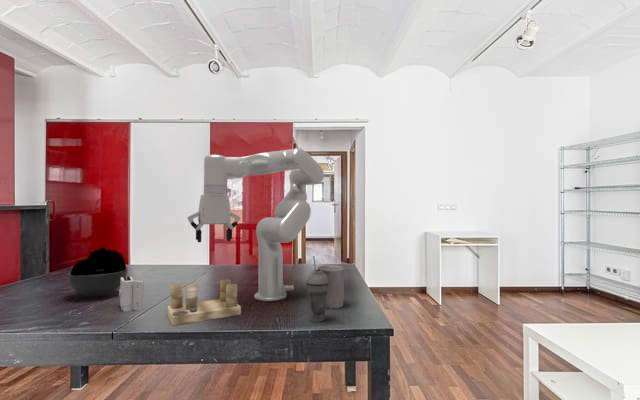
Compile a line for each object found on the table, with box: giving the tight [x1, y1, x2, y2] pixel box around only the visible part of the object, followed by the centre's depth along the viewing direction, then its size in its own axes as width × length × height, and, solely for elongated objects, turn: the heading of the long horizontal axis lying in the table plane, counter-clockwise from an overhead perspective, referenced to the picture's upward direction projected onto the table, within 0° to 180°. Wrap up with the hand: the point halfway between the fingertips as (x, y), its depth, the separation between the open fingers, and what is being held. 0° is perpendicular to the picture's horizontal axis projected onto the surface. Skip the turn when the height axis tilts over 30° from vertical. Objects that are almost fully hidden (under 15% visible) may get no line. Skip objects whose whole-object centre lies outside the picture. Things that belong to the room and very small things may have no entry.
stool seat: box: [167, 278, 242, 326], centre depth 110 cm, size 21×13×10 cm, turn 120°
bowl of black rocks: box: [67, 246, 128, 298], centre depth 132 cm, size 20×20×19 cm
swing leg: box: [185, 284, 199, 312], centre depth 107 cm, size 7×4×7 cm, turn 30°
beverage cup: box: [305, 255, 329, 323], centre depth 105 cm, size 7×7×20 cm
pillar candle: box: [317, 263, 345, 310], centre depth 120 cm, size 10×10×15 cm
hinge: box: [118, 275, 145, 312], centre depth 116 cm, size 14×5×10 cm, turn 47°
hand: (214, 241), depth 112 cm, fingers open, 9 cm apart
